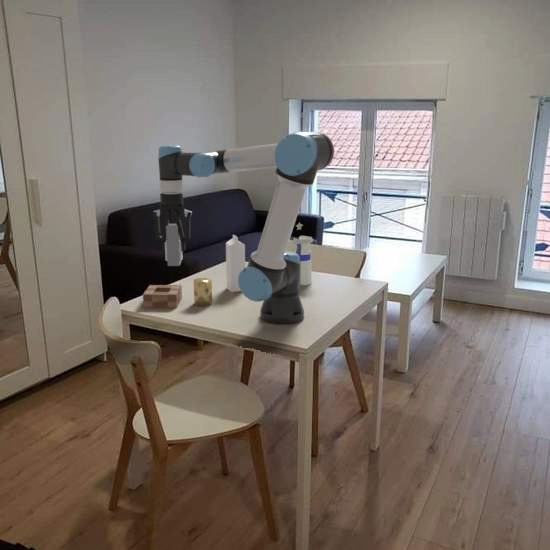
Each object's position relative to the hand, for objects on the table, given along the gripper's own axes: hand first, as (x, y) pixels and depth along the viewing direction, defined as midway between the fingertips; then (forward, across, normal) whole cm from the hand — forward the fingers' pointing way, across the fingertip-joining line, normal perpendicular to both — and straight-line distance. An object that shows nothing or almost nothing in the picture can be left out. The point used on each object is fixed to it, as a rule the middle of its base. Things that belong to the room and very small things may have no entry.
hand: (174, 259), depth 196 cm
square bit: (+2, 0, 0) cm, 2 cm away
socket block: (+19, +6, -9) cm, 22 cm away
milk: (+19, -20, -26) cm, 38 cm away
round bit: (+19, -9, -8) cm, 22 cm away
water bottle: (+19, -47, -36) cm, 62 cm away
